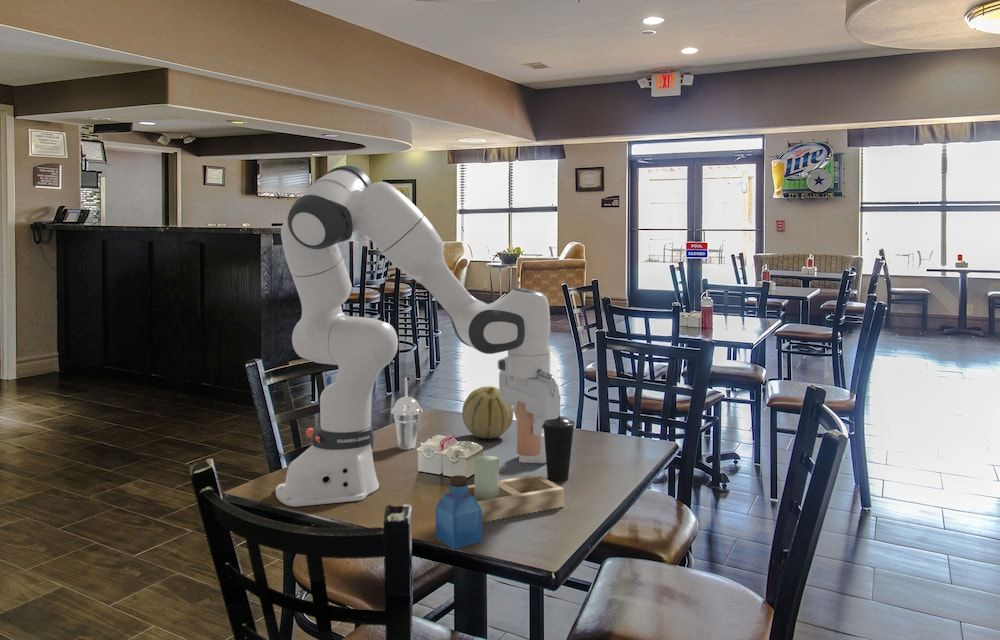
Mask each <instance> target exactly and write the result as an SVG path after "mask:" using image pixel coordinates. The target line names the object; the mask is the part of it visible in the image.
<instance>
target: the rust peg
mask: <svg viewBox="0 0 1000 640" xmlns="http://www.w3.org/2000/svg"><path fill="white" fill-rule="evenodd" d="M533 424H534V419H533V414H531V413H528V412H526V410H525V404H523V403H521V402H519V401H517V425H516V453H517V454H518V456H519V455H522V456H536V455H539V454H540V453H541V435H537V436H536V435H534V434H532V433H531V426H533Z"/></svg>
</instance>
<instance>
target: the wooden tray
mask: <svg viewBox="0 0 1000 640" xmlns="http://www.w3.org/2000/svg"><path fill="white" fill-rule="evenodd" d="M474 488H475V484H470V485H469V484H468V490H467V491H466V493H468V494H470V495H472V496H474ZM476 501H477V500H476ZM477 503H478V504H479V506H480V508H481V509H482V524H483V522H484V523H488V521H489V522H493V521H492V520H495V521H498V520H497V519H500V520H502V519H501V518H505V519H508V518H507V517H510V518H512V517H511V516H515V517H518V516H517V515H520V516H523V515H522V514H526V515H528V514H527V513H531V514H533V513H532V512H536V513H539V512H538V511H541V512H543V511H542V510H546V511H548V510H547V509H551V510H554V509H553V508H556V509H560V508H559V507H562V508H564V507H565V488H564V487H563V486H560V485H558V484H556V482H554V481H550V480H548V478H545V477H543V476H542V475H540V474H530V475H524V476H523V475H522V476H518V477H517V476H516V477H511V478H505V479H500V480H499V498H493V499H488V500H482V501H477Z"/></svg>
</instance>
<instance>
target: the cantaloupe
mask: <svg viewBox="0 0 1000 640" xmlns="http://www.w3.org/2000/svg"><path fill="white" fill-rule="evenodd" d="M461 410H462V421H463V423H464V425H465V427H466V429H467V430H468V432H469V433H471V434H472V435H473V436H474V437H478V438H480V439H487V440H490V439H496V438H499V437H500V436H503V435H504V434H505V433H506V432H507V431H508V430H509V429H510V427H511V425H512V422H513V419H514V416H515V414H514V411H513V405H511V404H508V403H506V402H504V401H502V399H501V397H500V391H499V387H496V386H492V385H491V386H490V385H489V386H481V387H478V388H476V389H474V390H471V392H470V393H469V395H467V397H466V399H465V401H464V403H463V406H462V409H461Z"/></svg>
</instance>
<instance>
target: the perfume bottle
mask: <svg viewBox="0 0 1000 640" xmlns="http://www.w3.org/2000/svg"><path fill="white" fill-rule="evenodd" d="M449 478H450V479H449V480H450V483H449V484H448V485H449V489H448V490H449V491H450V492H449V493H445V494H443V495H442V497H441V499H440V500H439V502H438V503H437V504H436V506H435V539H436V538H437V539H438V540H437V539H436V540H437V541H439V540H440V541H439V542H441V543H442V542H443V543H442V544H444V543H445V544H446V546H447V545H448V546H447V547H448V548H450V547H451V548H450V549H452V550H457V549H460V548H464V546H465V547H468V546H472V545H474V544H473V543H475V544H477V543H478V542H479V543H481V542H480V541H482V539H483V538H482V537H483V535H482V527H483V526H482V525H483V523H482V509H481V508H480V506H479V504H478V503H477V501H476V500H475V498H474V496H472V495H470V494H468V493H466V491H467V490H468V486H469V483H467V481H468V477H467V476H465V475H452V476H450V477H449ZM445 544H444V545H445ZM471 544H472V545H471ZM467 545H468V546H467Z"/></svg>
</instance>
